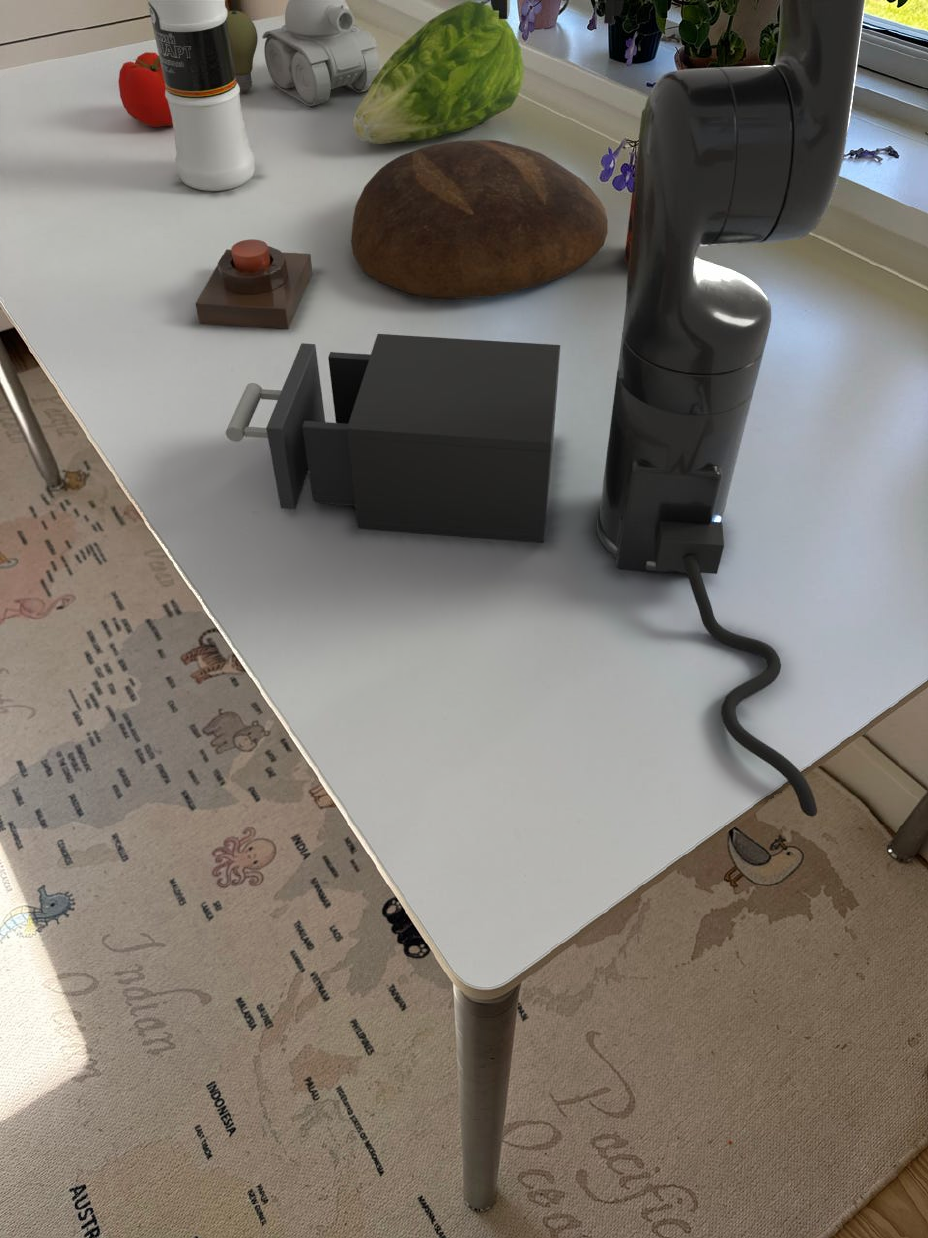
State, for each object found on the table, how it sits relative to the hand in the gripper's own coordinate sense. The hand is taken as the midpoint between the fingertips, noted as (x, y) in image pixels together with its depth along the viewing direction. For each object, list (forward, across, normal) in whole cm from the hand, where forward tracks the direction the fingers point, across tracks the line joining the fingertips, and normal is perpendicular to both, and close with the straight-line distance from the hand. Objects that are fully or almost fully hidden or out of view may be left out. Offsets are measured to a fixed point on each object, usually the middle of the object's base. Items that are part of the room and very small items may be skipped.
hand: (556, 18), depth 82 cm
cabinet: (+26, -4, -28) cm, 39 cm away
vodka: (+26, -41, +25) cm, 55 cm away
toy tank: (+25, -35, +54) cm, 69 cm away
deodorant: (+26, +11, +11) cm, 30 cm away
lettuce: (+26, -18, +42) cm, 52 cm away
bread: (+26, -8, +13) cm, 30 cm away
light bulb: (+25, -46, +52) cm, 74 cm away
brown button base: (+26, -29, -2) cm, 39 cm away
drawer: (+25, -13, -28) cm, 40 cm away
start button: (+22, -29, -2) cm, 36 cm away
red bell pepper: (+26, -54, +41) cm, 72 cm away
